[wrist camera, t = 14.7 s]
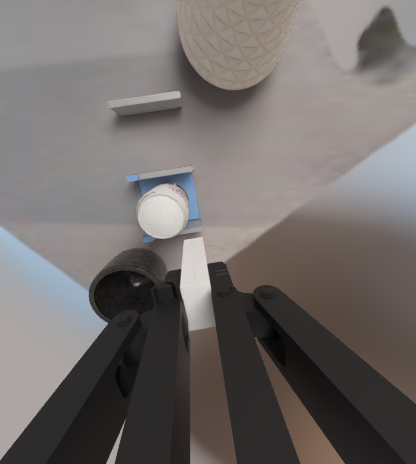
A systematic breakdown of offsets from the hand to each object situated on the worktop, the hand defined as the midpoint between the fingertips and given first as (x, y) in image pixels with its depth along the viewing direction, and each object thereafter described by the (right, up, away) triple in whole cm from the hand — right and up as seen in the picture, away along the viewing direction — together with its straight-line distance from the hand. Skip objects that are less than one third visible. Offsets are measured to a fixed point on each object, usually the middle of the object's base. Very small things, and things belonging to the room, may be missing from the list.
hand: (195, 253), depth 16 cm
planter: (-15, -7, +33) cm, 37 cm away
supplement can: (-7, +9, +28) cm, 31 cm away
